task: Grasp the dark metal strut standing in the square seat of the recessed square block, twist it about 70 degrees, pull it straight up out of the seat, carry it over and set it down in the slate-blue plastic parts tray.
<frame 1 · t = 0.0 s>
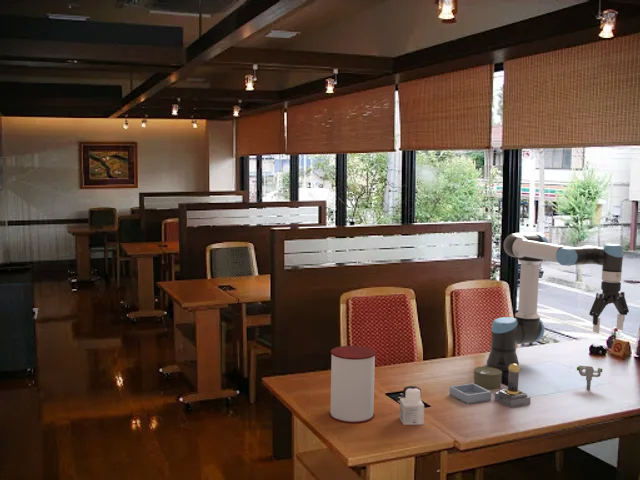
hand: (607, 330, 288), 28 cm above the table, fingers open, 13 cm apart
mechanical component: (588, 389, 298), on the table
strut: (512, 394, 280), point 3 cm above the table, touching recessed square block
recessed square block: (512, 402, 281), on the table
can: (487, 386, 301), on the table
tray: (469, 397, 285), on the table
container: (411, 421, 258), on the table
container 2: (351, 415, 263), on the table
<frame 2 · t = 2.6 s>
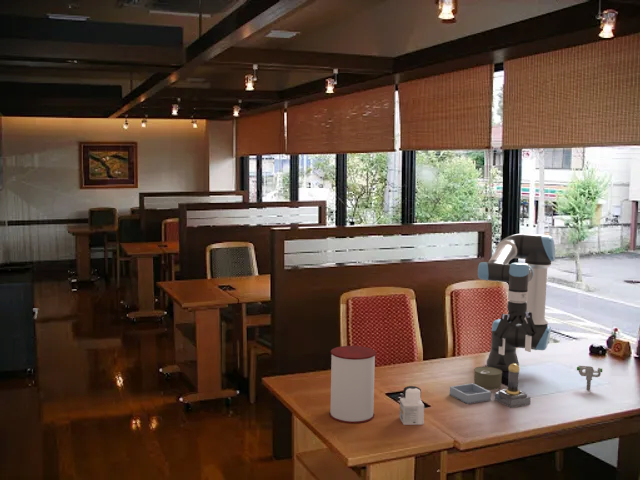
hand: (514, 352, 278), 21 cm above the table, fingers open, 13 cm apart
nothing on the table moved.
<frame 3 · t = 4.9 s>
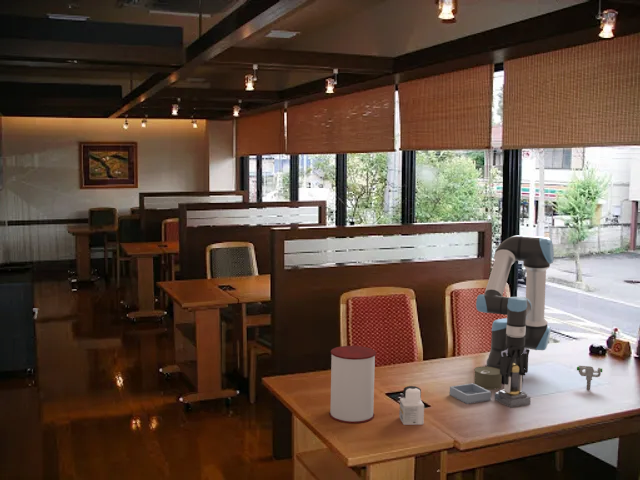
hand: (512, 390, 280), 5 cm above the table, fingers closed on strut, 5 cm apart
strut: (512, 394, 280), point 3 cm above the table, touching gripper, recessed square block
everything else where it was.
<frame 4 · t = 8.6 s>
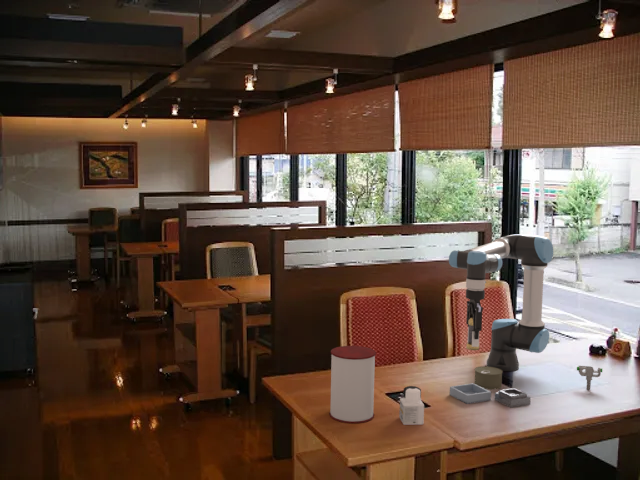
hand: (472, 344, 283), 23 cm above the table, fingers closed on strut, 5 cm apart
strut: (472, 348, 283), point 21 cm above the table, touching gripper
everything else where it was.
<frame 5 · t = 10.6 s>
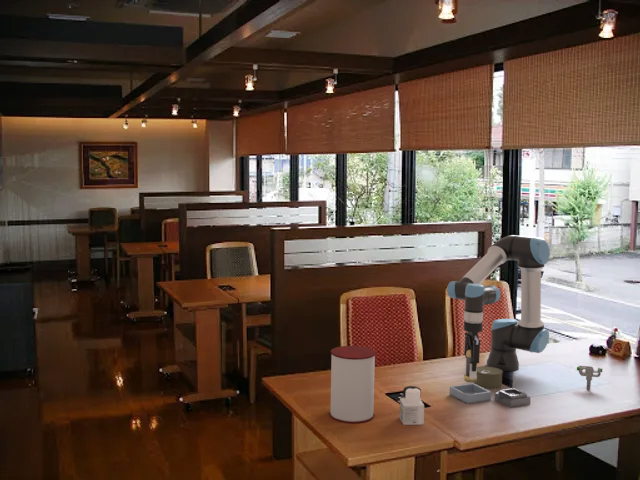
hand: (470, 376, 284), 9 cm above the table, fingers closed on strut, 5 cm apart
strut: (470, 380, 284), point 7 cm above the table, touching gripper
everything else where it was.
when the fingers open (4 cm above the table, at t = 12.2 s): strut drops 2 cm, resting on tray.
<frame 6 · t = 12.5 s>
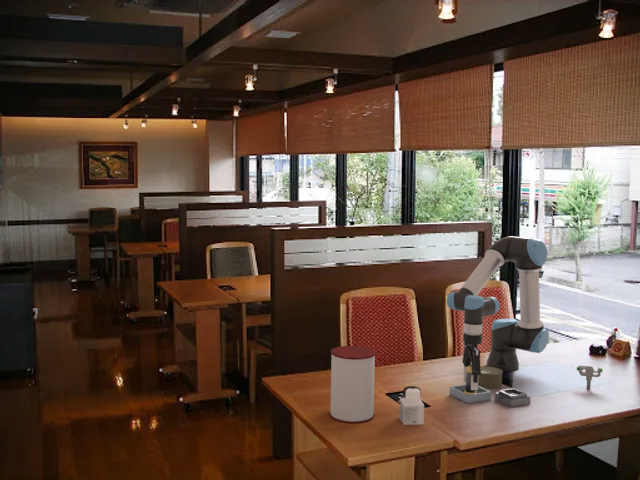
hand: (470, 385, 285), 5 cm above the table, fingers open, 9 cm apart
strut: (470, 396, 285), point 1 cm above the table, touching tray
everything else where it was.
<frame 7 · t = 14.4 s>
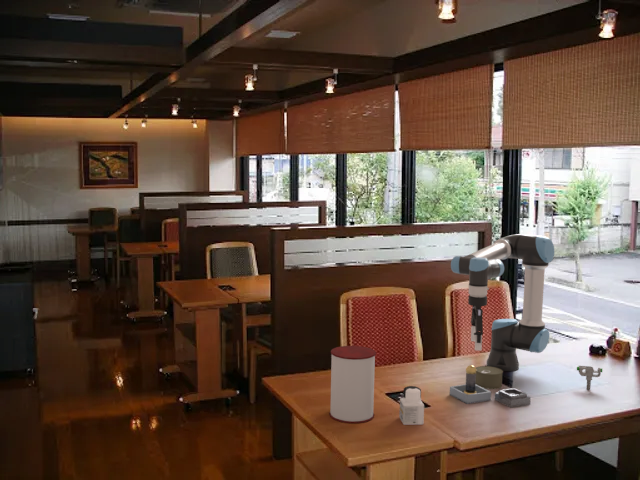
hand: (476, 345, 284), 22 cm above the table, fingers open, 13 cm apart
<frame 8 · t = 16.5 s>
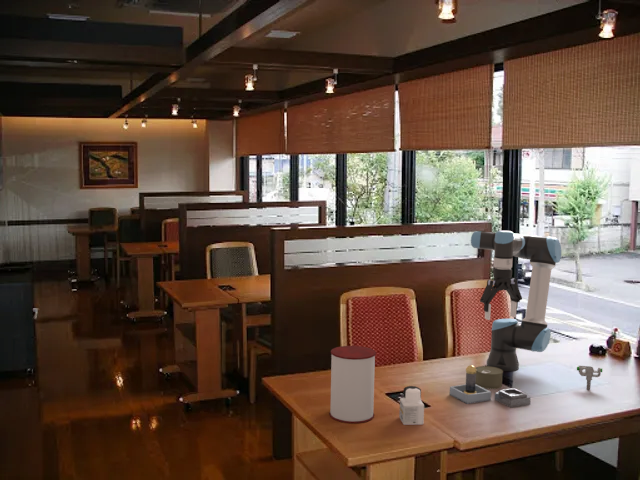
hand: (500, 318, 287), 33 cm above the table, fingers open, 13 cm apart
at the end: strut inside the target area on the tray (0.0 cm from its centre), point 0.6 cm above the tray's base; the gripper is holding nothing; strut moved 17.2 cm from its start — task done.
